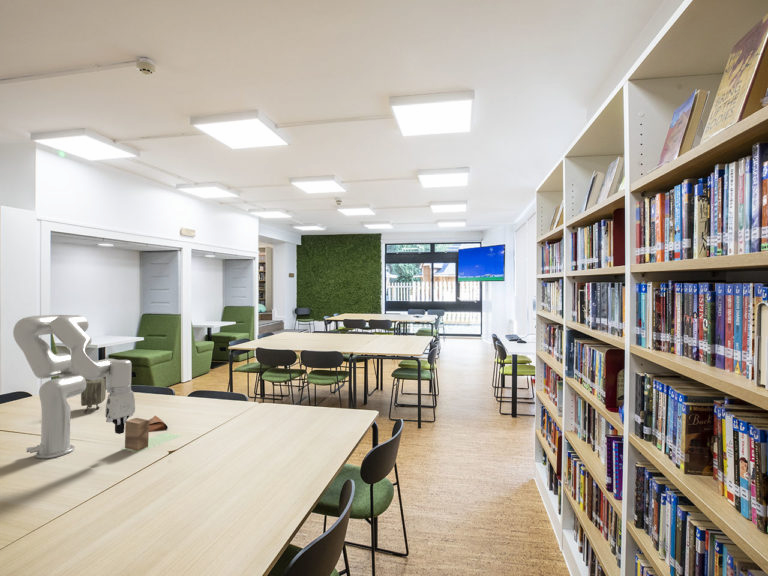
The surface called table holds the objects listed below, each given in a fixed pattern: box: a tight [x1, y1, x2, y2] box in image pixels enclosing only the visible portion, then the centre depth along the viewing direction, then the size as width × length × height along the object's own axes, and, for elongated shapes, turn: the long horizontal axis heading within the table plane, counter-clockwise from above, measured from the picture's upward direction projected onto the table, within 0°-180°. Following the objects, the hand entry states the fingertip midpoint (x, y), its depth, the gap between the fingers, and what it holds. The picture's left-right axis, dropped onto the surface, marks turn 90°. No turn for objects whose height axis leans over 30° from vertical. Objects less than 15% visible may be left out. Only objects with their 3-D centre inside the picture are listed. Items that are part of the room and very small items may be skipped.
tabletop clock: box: [80, 377, 107, 413], centre depth 228 cm, size 14×9×25 cm, turn 25°
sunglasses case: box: [148, 415, 169, 433], centre depth 201 cm, size 18×7×7 cm
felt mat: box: [120, 432, 181, 454], centre depth 180 cm, size 22×11×1 cm, turn 158°
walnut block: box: [124, 417, 150, 451], centre depth 173 cm, size 5×8×12 cm, turn 68°
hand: (119, 432), depth 166 cm, fingers closed
